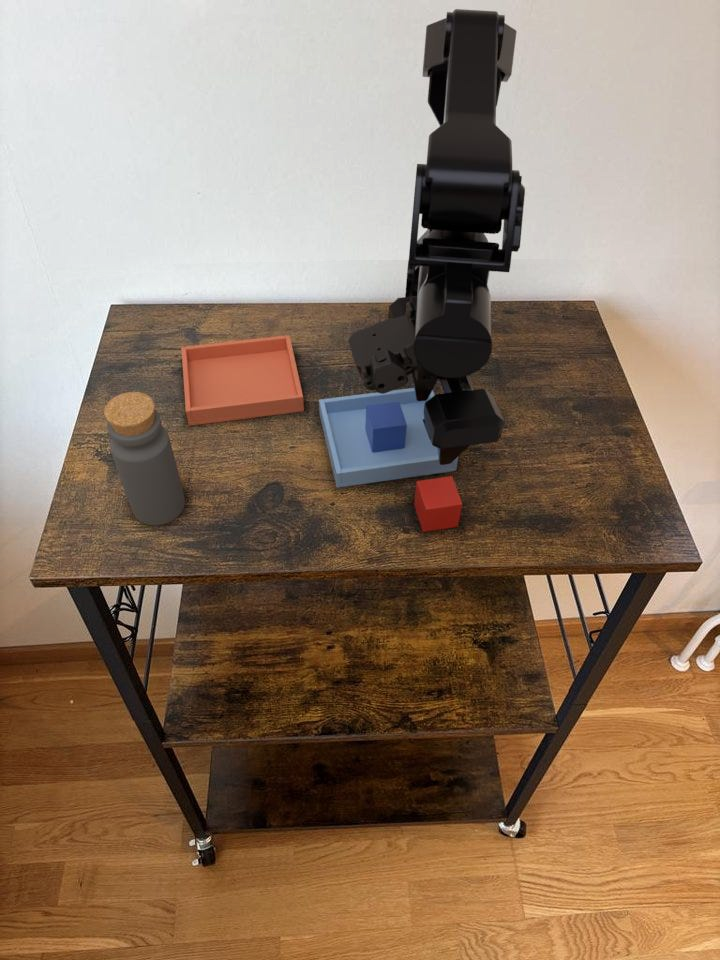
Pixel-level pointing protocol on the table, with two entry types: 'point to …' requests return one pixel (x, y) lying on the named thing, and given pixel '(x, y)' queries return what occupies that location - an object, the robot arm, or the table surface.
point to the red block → (437, 503)
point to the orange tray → (240, 380)
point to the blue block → (385, 426)
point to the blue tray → (353, 449)
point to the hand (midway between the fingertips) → (432, 430)
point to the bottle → (144, 459)
